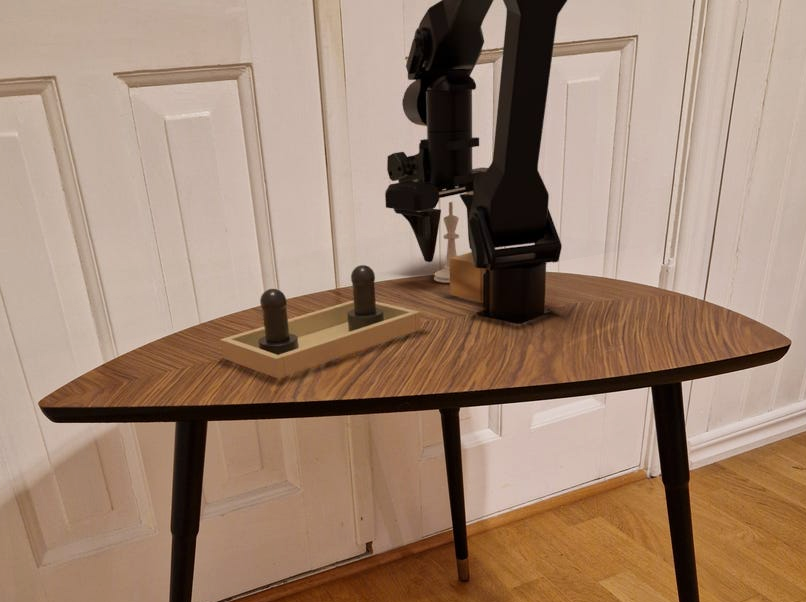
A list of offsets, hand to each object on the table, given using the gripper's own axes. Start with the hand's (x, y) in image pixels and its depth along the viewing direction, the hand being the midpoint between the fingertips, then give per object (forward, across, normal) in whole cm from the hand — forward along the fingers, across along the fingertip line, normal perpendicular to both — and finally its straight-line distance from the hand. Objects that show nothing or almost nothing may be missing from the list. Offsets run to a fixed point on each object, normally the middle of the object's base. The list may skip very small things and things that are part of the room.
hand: (451, 255), depth 109 cm
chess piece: (+3, 0, 0) cm, 3 cm away
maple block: (+3, +5, +9) cm, 11 cm away
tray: (+3, +30, +9) cm, 31 cm away
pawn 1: (+3, +36, +9) cm, 37 cm away
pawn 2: (+3, +24, +9) cm, 26 cm away
